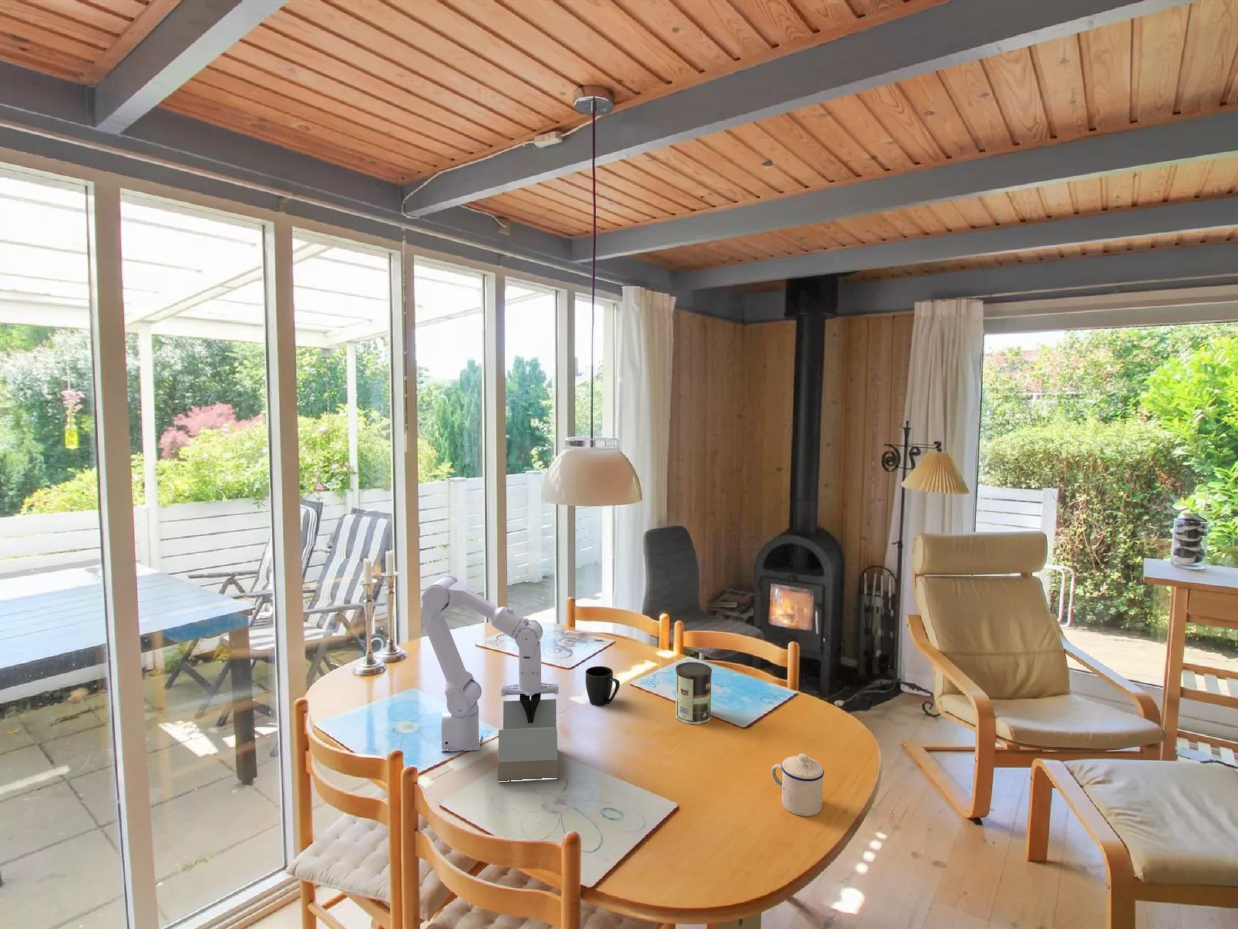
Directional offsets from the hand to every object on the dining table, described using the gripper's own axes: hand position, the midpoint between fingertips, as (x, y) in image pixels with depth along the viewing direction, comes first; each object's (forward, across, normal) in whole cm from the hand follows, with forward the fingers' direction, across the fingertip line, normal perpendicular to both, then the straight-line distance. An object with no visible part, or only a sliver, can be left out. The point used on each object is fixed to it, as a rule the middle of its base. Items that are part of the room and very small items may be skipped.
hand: (530, 721), depth 168 cm
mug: (+8, +20, +25) cm, 33 cm away
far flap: (-1, 0, +1) cm, 2 cm away
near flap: (-1, 0, -14) cm, 14 cm away
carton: (+8, 0, -8) cm, 11 cm away
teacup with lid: (+8, +60, -28) cm, 67 cm away
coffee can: (+8, +46, +15) cm, 49 cm away
